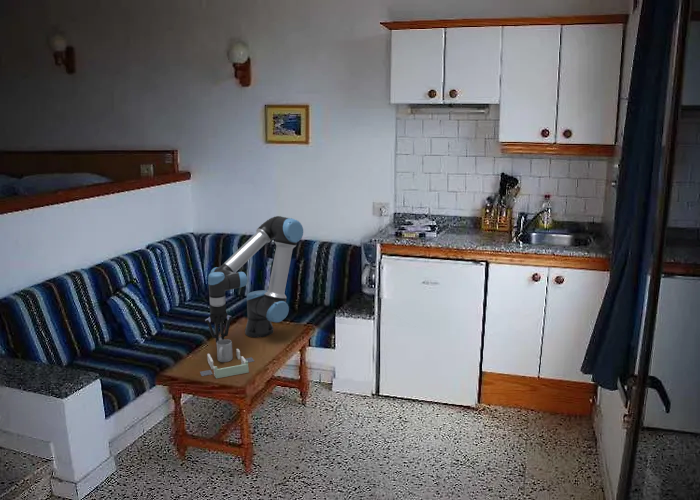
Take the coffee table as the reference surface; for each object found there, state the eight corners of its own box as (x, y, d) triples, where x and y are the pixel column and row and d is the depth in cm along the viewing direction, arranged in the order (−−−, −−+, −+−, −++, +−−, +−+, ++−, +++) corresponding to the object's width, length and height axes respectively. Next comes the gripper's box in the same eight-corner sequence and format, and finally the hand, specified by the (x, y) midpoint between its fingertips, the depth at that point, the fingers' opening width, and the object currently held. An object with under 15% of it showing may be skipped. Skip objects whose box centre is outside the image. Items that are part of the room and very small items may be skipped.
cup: (234, 356, 289) (233, 339, 287) (227, 365, 279) (226, 347, 277) (220, 356, 290) (219, 338, 288) (213, 364, 280) (211, 346, 278)
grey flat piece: (249, 354, 291) (249, 344, 290) (260, 370, 273) (259, 359, 272) (196, 363, 281) (195, 353, 280) (203, 380, 263) (202, 370, 262)
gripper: (229, 300, 290) (232, 345, 295) (202, 303, 285) (205, 349, 290) (232, 304, 283) (235, 350, 288) (205, 308, 278) (208, 355, 283)
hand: (220, 350), depth 289 cm, fingers closed
